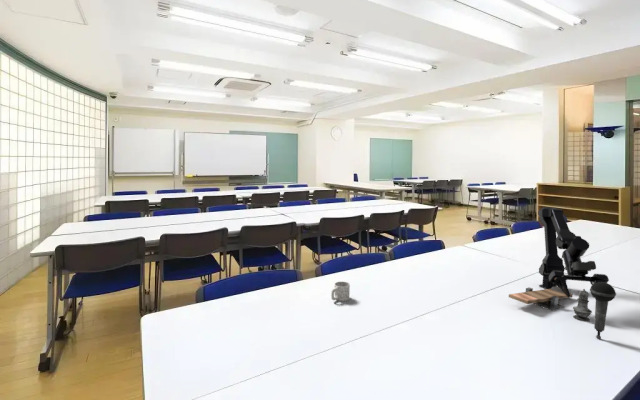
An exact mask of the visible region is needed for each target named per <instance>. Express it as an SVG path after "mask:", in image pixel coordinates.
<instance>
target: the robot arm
mask: <svg viewBox="0 0 640 400" xmlns="http://www.w3.org/2000/svg"><path fill="white" fill-rule="evenodd" d="M537 214H538V217H539V221H540V223H541V224H542V225H543V227H544V242H545V243H544V245H545V256H544V257H543V259H542V263H541V265H540V266H539V268H538V273H539V275H541V276H542V283H541V284H539V285H538V286H539V287H540V288H543V289H551V288H552V287H555V286H556V287H559V288H560V289H561V290H562V291H563V292H564V293H565V295H566V296H567V297H568V298H571V297H570V294H571V293H569V291H570V289H569V287H568V284H567V280H569V281H578V282H589V283H590V285H591V286H592V285H593V284H595V283H597V282H605V283H608V282H609V281H610V278H609V277H608V275H606V274H603V273H594V274H593V275H592V276H587V275H588V274H589V272H591V271H594V270H596V269H597V265H596V264H597V263H596V262H595V260H588V261H582V258H581V257H582V256H583V257H584V254H585V253H586V252H587V250H588V249H589V248H590V242H588V241H587V240H586V239H585V238H582V237H581V236H580V235H576V234H575V233H574V232H572V231H571V230H570V228H569V226H568V224H567V221H566V219H565V216H564V210H563V209H562V208H557V207H543V206H542V207H541V208H540V209H538V213H537ZM558 249H559V250H563V251H562V253H561V254H562V255H561V257H560V256H559V254H558V253H559V252H558ZM565 271H566V272H567V273H566V274H565Z"/></svg>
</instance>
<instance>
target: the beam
mask: <svg viewBox="0 0 640 400" xmlns="http://www.w3.org/2000/svg"><path fill="white" fill-rule="evenodd" d="M569 293H570V290H569ZM552 296H557V297H558V300H562V299H567V298H568V297H567V296H566V295H565V293H564V292H563V291H562V290H561V289H560V288H559V287H556V286H555V287H552V288H551V289H546V288H543V289H538V290H533V291H530V292H526V291H524V292H517V293H516V292H515V293H510V294H508V298H510V299H513V300H514V301H517V302H520V303H522V304H524V305H525V304H526V305H529V304H530V305H531V304H532V303H538V302H544V301H551V297H552ZM569 298H573V293H570V297H569Z"/></svg>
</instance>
